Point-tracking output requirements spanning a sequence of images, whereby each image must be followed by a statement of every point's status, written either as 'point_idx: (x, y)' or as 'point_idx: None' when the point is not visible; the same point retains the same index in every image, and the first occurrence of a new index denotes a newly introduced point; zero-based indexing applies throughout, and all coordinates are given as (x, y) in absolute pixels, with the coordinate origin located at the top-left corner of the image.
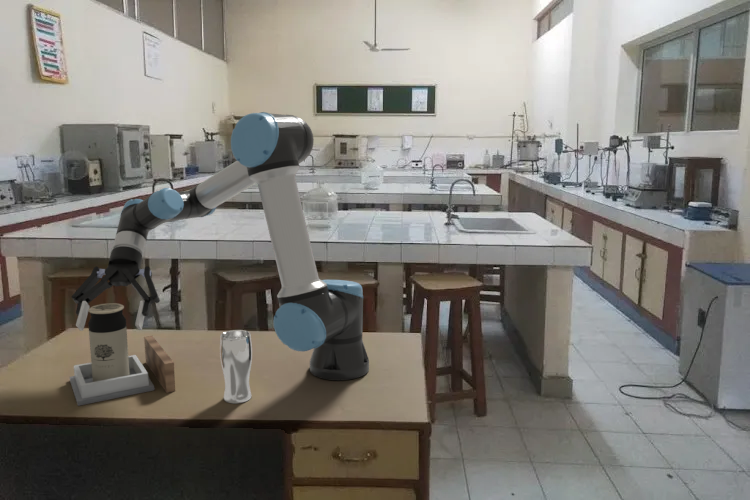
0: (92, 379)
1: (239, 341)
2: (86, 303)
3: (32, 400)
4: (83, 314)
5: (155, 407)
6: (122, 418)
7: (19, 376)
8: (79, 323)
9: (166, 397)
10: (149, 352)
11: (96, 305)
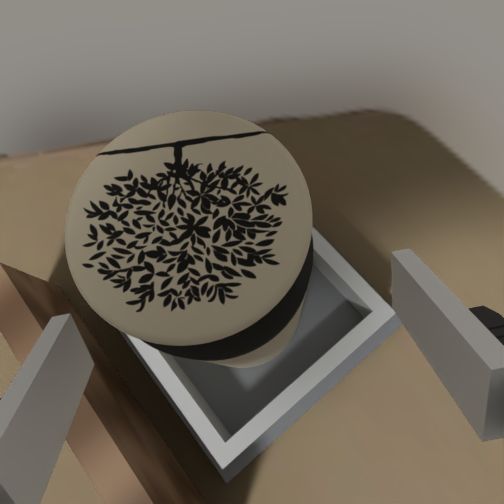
0: (312, 311)
1: None
2: (480, 379)
3: (403, 182)
4: (429, 315)
5: (58, 201)
6: (114, 138)
7: None
8: (394, 256)
9: (50, 259)
10: (163, 485)
11: (293, 249)
